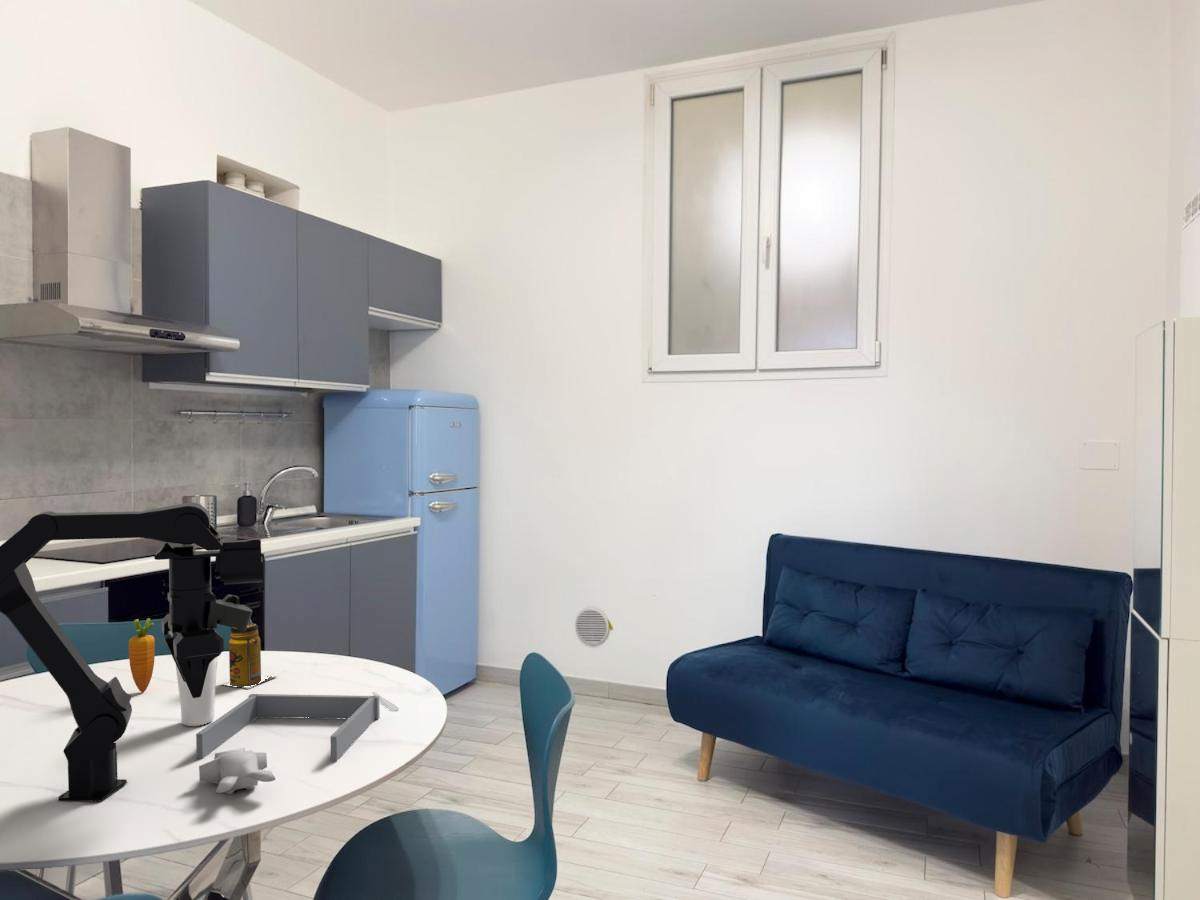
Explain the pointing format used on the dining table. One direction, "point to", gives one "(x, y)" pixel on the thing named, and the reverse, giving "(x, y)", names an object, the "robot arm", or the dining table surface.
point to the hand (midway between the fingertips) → (192, 689)
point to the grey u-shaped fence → (281, 705)
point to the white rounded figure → (236, 770)
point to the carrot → (142, 655)
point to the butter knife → (386, 702)
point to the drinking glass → (198, 699)
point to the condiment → (245, 657)
